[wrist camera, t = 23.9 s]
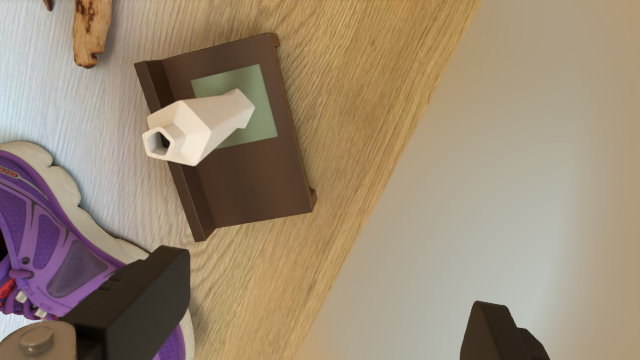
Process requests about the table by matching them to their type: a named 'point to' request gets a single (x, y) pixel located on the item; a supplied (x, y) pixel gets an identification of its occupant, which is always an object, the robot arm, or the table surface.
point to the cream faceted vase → (195, 126)
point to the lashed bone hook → (89, 29)
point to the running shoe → (58, 245)
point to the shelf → (235, 136)
